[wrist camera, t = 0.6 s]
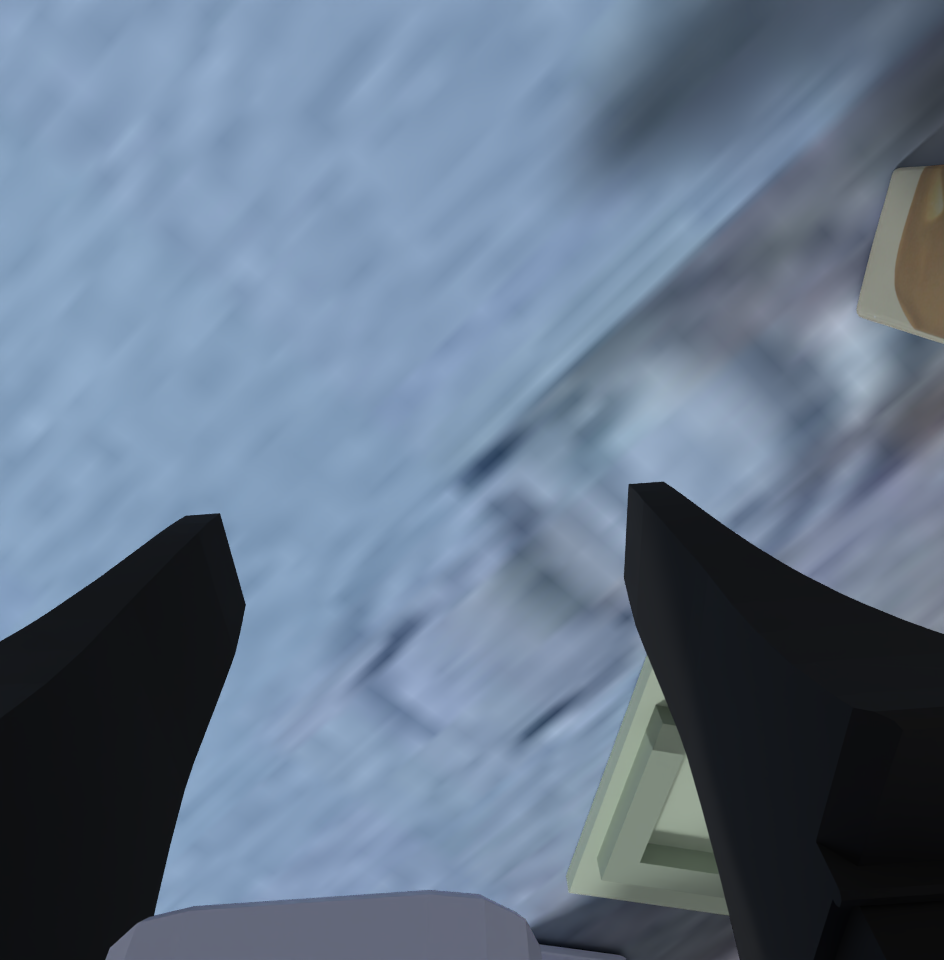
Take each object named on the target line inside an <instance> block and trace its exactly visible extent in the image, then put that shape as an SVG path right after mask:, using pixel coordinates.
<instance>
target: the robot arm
mask: <svg viewBox="0 0 944 960" xmlns="http://www.w3.org/2000/svg"><path fill="white" fill-rule="evenodd" d="M624 581H625V585H626V589H627V593H628V597H629V601H630V605H631V609H632V613H633V617H634V621H635V625H636V628H637V630H638V633H639V635H640V638H641V640H642V643H643V645H644V648H645V651H646V653H647V656H648V658H649V661H650V663H651V666H652V668H653V670H654V673H655V675H656V678H657V680H658V683H659V685H660V688H661V690H662V693H663V695H664V698H665V700H666V703H667V705H668V707H669V710H670V712H671V715H672V717H673V720H674V722H675V725H676V727H677V730H678V732H679V735H680V738H681V741H682V744H683V747H684V749H685V752H686V755H687V759H688V762H689V766H690V769H691V773H692V776H693V780H694V783H695V787H696V790H697V794H698V797H699V801H700V804H701V808H702V811H703V815H704V819H705V823H706V826H707V830H708V834H709V838H710V841H711V845H712V849H713V853H714V857H715V860H716V864H717V868H718V872H719V876H720V880H721V884H722V888H723V892H724V896H725V900H726V904H727V908H728V912H729V916H730V920H731V924H732V929H733V933H734V937H735V941H736V945H737V950H738V954H739V958H740V960H944V634H942V633H939V632H936V631H933V630H930V629H927V628H924V627H922V626H919V625H916V624H913V623H911V622H908V621H905V620H902V619H900V618H898V617H895V616H893V615H890V614H888V613H885V612H883V611H880V610H878V609H875V608H873V607H871V606H868V605H866V604H863V603H861V602H859V601H857V600H854V599H852V598H850V597H848V596H845V595H843V594H841V593H839V592H837V591H835V590H833V589H831V588H829V587H827V586H825V585H823V584H821V583H819V582H817V581H815V580H813V579H811V578H809V577H807V576H805V575H803V574H801V573H800V572H798V571H796V570H794V569H792V568H791V567H789V566H787V565H785V564H784V563H782V562H780V561H779V560H777V559H775V558H774V557H772V556H770V555H769V554H767V553H766V552H764V551H762V550H761V549H759V548H757V547H756V546H754V545H753V544H751V543H750V542H748V541H747V540H745V539H744V538H742V537H741V536H739V535H738V534H736V533H735V532H733V531H732V530H730V529H729V528H727V527H726V526H725V525H723V524H722V523H720V522H719V521H717V520H716V519H715V518H713V517H712V516H711V515H709V514H708V513H706V512H705V511H704V510H702V509H701V508H700V507H698V506H697V505H696V504H694V503H693V502H691V501H690V500H689V499H687V498H686V497H685V496H683V495H682V494H681V493H679V492H678V491H676V490H675V489H674V488H672V487H671V486H669V485H668V484H666V483H665V482H652V483H638V484H629V488H628V508H627V527H626V547H625V567H624ZM245 606H246V604H245V601H244V597H243V594H242V590H241V587H240V583H239V579H238V576H237V572H236V569H235V565H234V562H233V558H232V555H231V551H230V547H229V544H228V540H227V537H226V533H225V530H224V526H223V522H222V519H221V515H220V513H218V514H204V515H190V516H185V517H183V518H181V519H179V520H178V521H176V522H175V523H173V524H172V525H170V526H169V527H167V528H166V529H164V530H163V531H162V532H160V533H159V534H158V535H156V536H155V537H153V538H152V539H151V540H149V541H148V542H147V543H145V544H144V545H143V546H141V547H140V548H139V549H137V550H136V551H135V552H133V553H132V554H131V555H129V556H128V557H127V558H125V559H124V560H122V561H121V562H120V563H118V564H117V565H116V566H114V567H113V568H112V569H110V570H109V571H108V572H106V573H105V574H104V575H102V576H101V577H99V578H98V579H97V580H95V581H94V582H92V583H91V584H89V585H88V586H86V587H85V588H84V589H82V590H81V591H79V592H78V593H76V594H75V595H73V596H72V597H70V598H69V599H67V600H66V601H64V602H63V603H62V604H60V605H59V606H57V607H56V608H54V609H53V610H51V611H50V612H48V613H47V614H45V615H44V616H42V617H40V618H39V619H37V620H36V621H34V622H33V623H31V624H29V625H28V626H26V627H24V628H23V629H21V630H19V631H18V632H16V633H14V634H12V635H11V636H9V637H7V638H5V639H4V640H2V641H0V960H626V958H625V957H623V956H621V955H615V954H608V953H601V952H593V951H586V950H578V949H571V948H564V947H556V946H549V945H541V944H539V943H538V942H537V940H536V938H535V936H534V934H533V932H532V930H531V928H530V927H529V925H528V923H527V921H526V919H525V918H523V917H522V916H520V915H519V914H518V913H516V912H515V911H512V910H510V909H508V908H506V907H504V906H502V905H500V904H498V903H496V902H494V901H492V900H490V899H488V898H486V897H484V896H482V895H480V894H471V893H459V892H447V891H436V890H422V891H408V892H393V893H379V894H364V895H350V896H335V897H321V898H306V899H292V900H277V901H263V902H248V903H234V904H220V905H205V906H193V907H189V908H185V909H181V910H176V911H172V912H168V913H164V914H160V915H156V916H154V913H155V908H156V903H157V899H158V895H159V891H160V886H161V882H162V878H163V874H164V869H165V865H166V861H167V857H168V852H169V848H170V844H171V840H172V836H173V833H174V829H175V825H176V821H177V817H178V813H179V810H180V806H181V802H182V798H183V794H184V791H185V788H186V785H187V782H188V779H189V776H190V773H191V770H192V767H193V764H194V761H195V758H196V756H197V753H198V751H199V748H200V745H201V743H202V740H203V738H204V735H205V732H206V730H207V727H208V725H209V722H210V719H211V717H212V714H213V712H214V709H215V706H216V704H217V701H218V699H219V696H220V693H221V691H222V688H223V685H224V683H225V680H226V677H227V675H228V672H229V669H230V667H231V664H232V661H233V658H234V655H235V652H236V648H237V643H238V639H239V635H240V631H241V626H242V621H243V616H244V611H245Z"/></svg>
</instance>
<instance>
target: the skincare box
mask: <svg viewBox="0 0 944 960" xmlns="http://www.w3.org/2000/svg"><path fill="white" fill-rule="evenodd" d="M857 314H858V315H859V316H860V317H862V318H864V319H867V320H870V321H874V322H877V323H880V324H883V325H886V326H889V327H893V328H896V329H899V330H902V331H905V332H908V333H911V334H915V335H918V336H921V337H924V338H927V339H930V340H933V341H936V342H940V343H943V344H944V165H934V166H920V167H903V168H897V169H895V170H894V172H893V174H892V177H891V181H890V184H889V188H888V192H887V195H886V199H885V202H884V206H883V209H882V212H881V216H880V219H879V223H878V227H877V230H876V233H875V237H874V241H873V245H872V249H871V252H870V256H869V260H868V264H867V268H866V272H865V276H864V280H863V284H862V288H861V292H860V296H859V300H858V305H857Z"/></svg>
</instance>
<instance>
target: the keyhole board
mask: <svg viewBox="0 0 944 960" xmlns="http://www.w3.org/2000/svg"><path fill="white" fill-rule="evenodd" d="M566 878H567V884H568V891H569V893H574V894H581V895H588V896H595V897H602V898H609V899H616V900H623V901H630V902H637V903H644V904H651V905H658V906H665V907H672V908H679V909H686V910H693V911H700V912H707V913H714V914H721V915H728V916H729V912H728V908H727V904H726V900H725V896H724V892H723V888H722V884H721V880H720V876H719V872H718V868H717V864H716V860H715V857H714V853H713V849H712V845H711V841H710V838H709V834H708V830H707V826H706V823H705V819H704V815H703V811H702V808H701V804H700V801H699V797H698V794H697V790H696V787H695V783H694V780H693V776H692V773H691V769H690V766H689V762H688V759H687V755H686V752H685V749H684V747H683V744H682V741H681V738H680V735H679V732H678V730H677V727H676V725H675V722H674V720H673V717H672V715H671V712H670V710H669V707H668V705H667V703H666V700H665V698H664V695H663V693H662V690H661V688H660V685H659V683H658V680H657V678H656V675H655V673H654V670H653V668H652V666H651V663H650V661H649V658H648V656H646V659H645V662H644V664H643V667H642V670H641V673H640V675H639V678H638V681H637V684H636V686H635V689H634V692H633V694H632V697H631V700H630V703H629V705H628V708H627V711H626V714H625V716H624V719H623V722H622V725H621V727H620V730H619V733H618V735H617V738H616V741H615V744H614V746H613V749H612V752H611V755H610V757H609V760H608V763H607V765H606V768H605V771H604V774H603V776H602V779H601V782H600V785H599V787H598V790H597V793H596V796H595V798H594V801H593V804H592V806H591V809H590V812H589V815H588V817H587V820H586V823H585V826H584V828H583V831H582V834H581V836H580V839H579V842H578V845H577V847H576V850H575V853H574V856H573V858H572V861H571V864H570V866H569V869H568V872H567V875H566Z"/></svg>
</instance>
